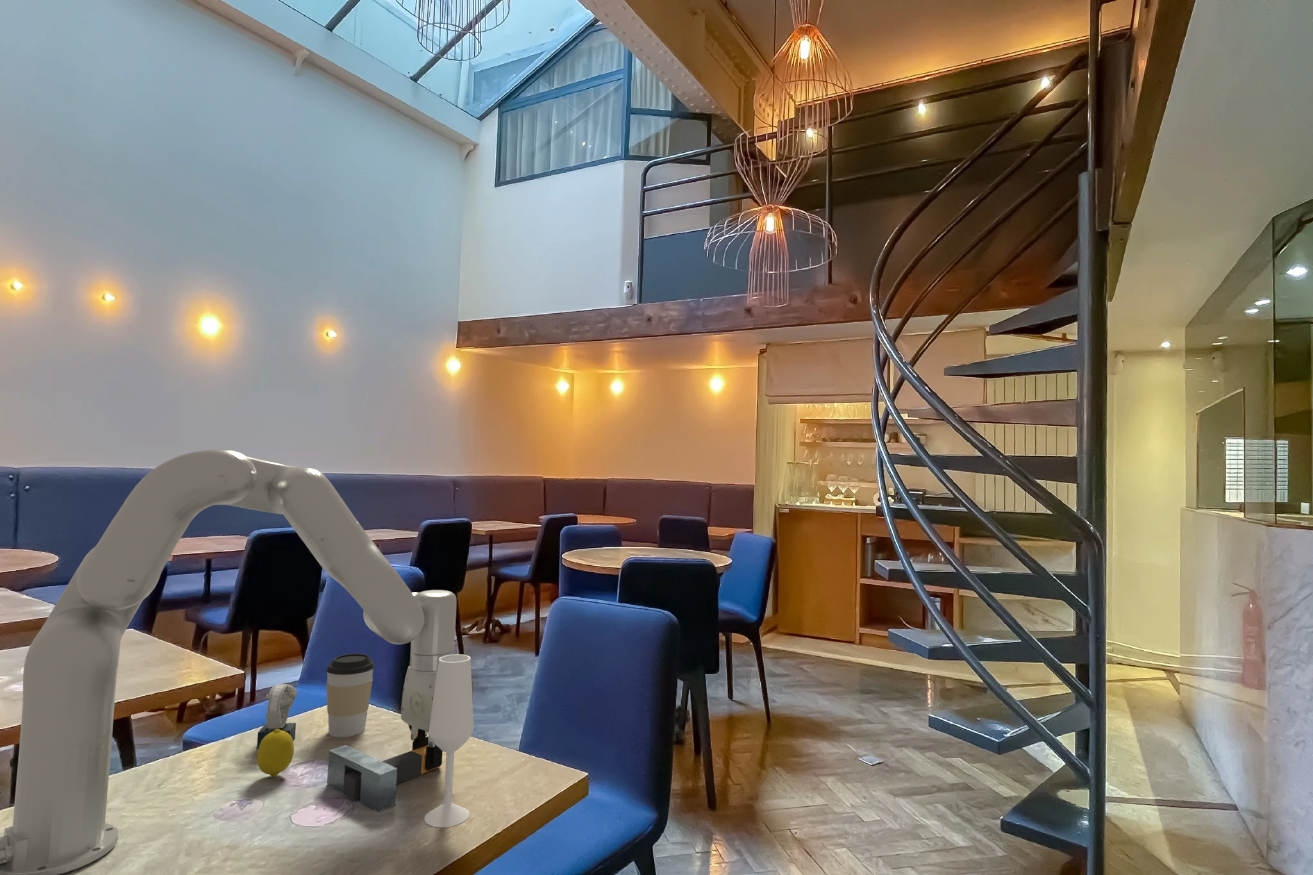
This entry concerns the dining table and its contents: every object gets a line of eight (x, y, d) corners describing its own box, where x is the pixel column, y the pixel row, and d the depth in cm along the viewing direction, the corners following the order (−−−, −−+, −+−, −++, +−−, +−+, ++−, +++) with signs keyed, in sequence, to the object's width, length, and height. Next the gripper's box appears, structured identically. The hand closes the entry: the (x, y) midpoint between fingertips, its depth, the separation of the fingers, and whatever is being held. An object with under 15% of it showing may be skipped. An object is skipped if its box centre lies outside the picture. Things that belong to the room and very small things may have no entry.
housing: (378, 811, 104) (380, 774, 105) (326, 784, 113) (329, 750, 113) (395, 804, 107) (397, 768, 107) (343, 778, 115) (345, 744, 116)
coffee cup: (317, 740, 131) (321, 662, 132) (328, 723, 140) (332, 650, 141) (366, 737, 133) (371, 661, 134) (374, 721, 142) (378, 649, 143)
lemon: (264, 787, 111) (267, 737, 112) (249, 777, 115) (253, 729, 115) (298, 776, 116) (301, 728, 116) (283, 767, 119) (286, 720, 119)
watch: (297, 734, 133) (301, 678, 134) (286, 751, 126) (290, 691, 126) (266, 736, 132) (269, 679, 133) (253, 753, 124) (257, 692, 125)
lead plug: (354, 800, 107) (355, 780, 107) (343, 794, 109) (344, 774, 109) (440, 766, 121) (441, 748, 121) (429, 761, 123) (430, 743, 123)
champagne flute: (447, 801, 108) (454, 650, 110) (478, 812, 105) (486, 656, 107) (414, 819, 102) (422, 659, 104) (447, 831, 99) (455, 666, 101)
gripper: (386, 656, 123) (381, 759, 122) (443, 673, 114) (437, 785, 112) (421, 648, 129) (416, 746, 128) (478, 664, 120) (473, 770, 119)
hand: (426, 763), depth 120 cm, fingers closed on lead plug, 3 cm apart
